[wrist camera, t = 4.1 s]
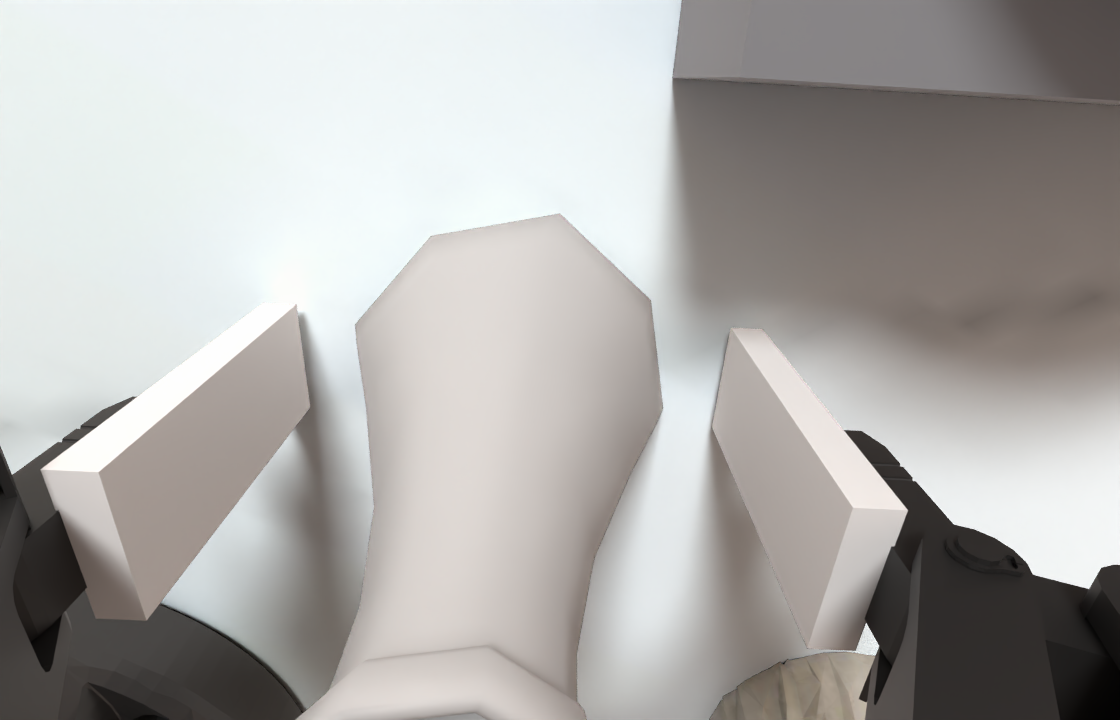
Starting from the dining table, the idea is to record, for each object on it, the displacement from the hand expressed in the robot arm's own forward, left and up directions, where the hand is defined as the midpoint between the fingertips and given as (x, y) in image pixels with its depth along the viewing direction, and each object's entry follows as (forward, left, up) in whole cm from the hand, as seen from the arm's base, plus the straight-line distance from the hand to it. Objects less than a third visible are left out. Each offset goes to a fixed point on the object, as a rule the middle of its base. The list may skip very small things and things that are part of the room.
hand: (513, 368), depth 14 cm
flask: (0, 0, -1) cm, 1 cm away
